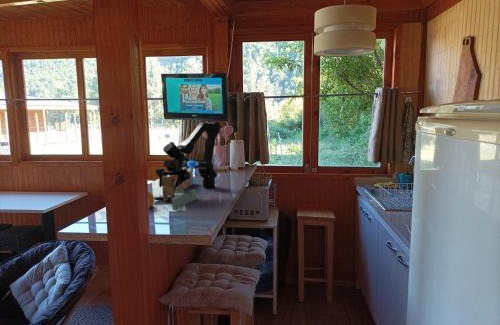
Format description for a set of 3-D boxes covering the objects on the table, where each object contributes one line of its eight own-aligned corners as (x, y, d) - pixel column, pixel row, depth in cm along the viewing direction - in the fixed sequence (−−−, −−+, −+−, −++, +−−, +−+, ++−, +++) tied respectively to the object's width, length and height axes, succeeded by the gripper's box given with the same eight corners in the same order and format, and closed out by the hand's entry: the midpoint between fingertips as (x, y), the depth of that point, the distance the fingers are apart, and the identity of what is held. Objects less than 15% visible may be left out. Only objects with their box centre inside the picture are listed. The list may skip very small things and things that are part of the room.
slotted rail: (193, 198, 194) (193, 189, 193) (196, 199, 193) (195, 189, 192) (172, 209, 175) (171, 198, 175) (175, 209, 175) (174, 199, 174)
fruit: (146, 212, 173) (144, 191, 171) (124, 211, 176) (122, 190, 175) (159, 205, 184) (157, 185, 182) (138, 204, 187) (137, 185, 186)
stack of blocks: (184, 183, 235) (182, 164, 233) (193, 183, 234) (192, 164, 232) (170, 191, 214) (168, 170, 212) (180, 191, 213) (179, 170, 211)
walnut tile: (165, 199, 195) (163, 176, 193) (175, 200, 192) (173, 176, 191) (163, 200, 193) (161, 177, 191) (173, 201, 191) (171, 177, 189)
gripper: (155, 153, 197) (144, 178, 188) (186, 154, 190) (176, 179, 181) (165, 166, 205) (155, 189, 197) (194, 166, 198) (185, 191, 190)
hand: (167, 187), depth 191 cm, fingers open, 9 cm apart
